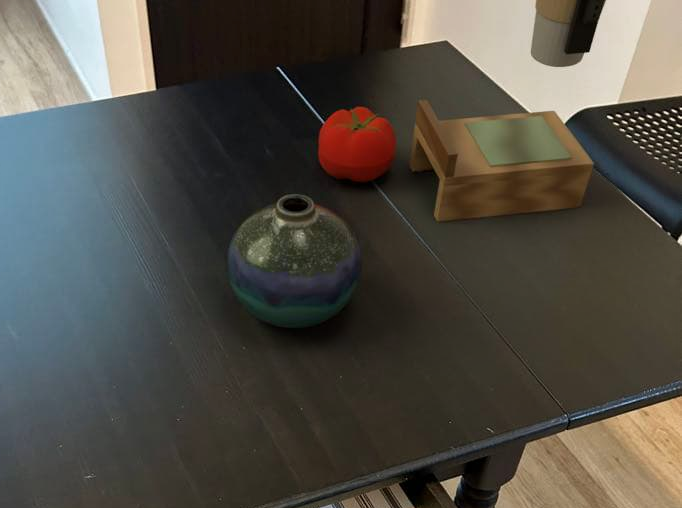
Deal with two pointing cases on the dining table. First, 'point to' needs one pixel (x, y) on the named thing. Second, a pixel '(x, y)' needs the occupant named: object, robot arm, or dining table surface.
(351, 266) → the vase
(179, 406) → the dining table surface
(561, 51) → the coffee cup
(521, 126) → the wooden toy bed
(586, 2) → the robot arm
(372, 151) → the tomato
